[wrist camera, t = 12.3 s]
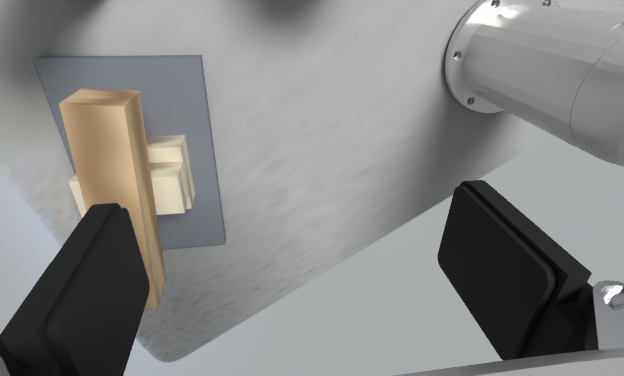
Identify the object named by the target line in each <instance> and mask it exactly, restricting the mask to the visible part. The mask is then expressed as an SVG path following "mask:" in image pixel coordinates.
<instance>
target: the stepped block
mask: <svg viewBox="0 0 624 376" xmlns="http://www.w3.org/2000/svg"><path fill="white" fill-rule="evenodd" d="M146 142H147V149H148V156H149V164H150V171H151V178H152V185H153V193H154V200H155V207H156V214H157V215H163V214H178V213H185V210H186V209H192V205H193V201H194V197H195V189H194V184H193V178H192V172H191V166H190V161H189V155H188V149H187V143H186V138H185V135H177V136H151V137H146ZM69 185H70V187H71V190H72V193H73V195H74V198H75V200H76V203H77V206H78V208H79V211H80V214H81V216H82V218H83V217H84V215H85V214H86V208H85V204H84V200H83V196H82V192H81V189H80V185H79V181H78V177H77V173H76V174H75V175H74V176H73V177H72V179H71V180H70V181H69Z"/></svg>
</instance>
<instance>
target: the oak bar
mask: <svg viewBox="0 0 624 376" xmlns="http://www.w3.org/2000/svg"><path fill="white" fill-rule="evenodd" d="M59 106H60V110H61V114H62V118H63V122H64V126H65V130H66V134H67V138H68V142H69V146H70V149H71V153H72V157H73V161H74V165H75V169H76V173H77V177H78V181H79V185H80V189H81V192H82V196H83V200H84V204H85V208H86V212H87V211H88V209H89V208H90V207H91V206H92V205H93V204H106V203H118V204H119V205H120V207H121V208H127V210H128V212H129V215H130V218H131V222H132V225H133V228H134V232H135V235H136V239H137V242H138V245H139V249H140V252H141V255H142V259H143V262H144V266H145V269H146V272H147V276H148V279H149V284H150V290H149V296H148V299H147V302H146V305H145V308H144V310H157V308H158V305H159V301H160V298H161V294H162V290H163V287H164V283H165V280H166V279H165V272H164V265H163V258H162V250H161V243H160V236H159V229H158V222H157V214H156V207H155V200H154V193H153V185H152V178H151V171H150V164H149V156H148V149H147V142H146V135H145V127H144V120H143V113H142V106H141V98H140V91H131V90H115V89H98V88H82V89H80V90H79V91H77V92H76V93H74V94H72V95H71V96H69V97H68V98H66V99H65V100H63V101H62V102H60V103H59Z"/></svg>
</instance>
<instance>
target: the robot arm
mask: <svg viewBox="0 0 624 376" xmlns="http://www.w3.org/2000/svg"><path fill="white" fill-rule="evenodd" d="M491 3H492V4H491ZM454 54H455V55H454ZM445 75H446V81H447V84H448V87H449V90H450V91H451V93H452V95H453V96H454V98H455V99H456V100H457V101H458V102H459V103H460V104H462V105H464V106H465V107H467V108H469V109H471V110H473V111H476V112H481V113H496V112H501V111H507V112H509V113H511V114H513V115H515V116H517V117H519V118H521V119H523V120H525V121H527V122H529V123H531V124H533V125H534V126H536V127H538V128H540V129H542V130H544V131H546V132H548V133H550V134H552V135H554V136H556V137H558V138H560V139H562V140H564V141H565V142H567V143H569V144H571V145H573V146H575V147H578V148H579V149H581V150H583V151H585V152H587V153H589V154H591V155H593V156H595V157H597V158H599V159H602V160H604V161H606V162H609V163H612V164H616V165H620V166H624V13H614V12H603V11H593V10H582V9H571V8H561V7H560V6H559V5H558V3H557V2H556V0H480V1H479V2H478V3H477V4H475V5H474V6H473V7H472V8H471V9H470V10H469V11H468V12H467V14H466V15H465V16H464V17H463V19H462V20H461V21H460V23H459V25H458V26H457V28H456V30H455V31H454V33H453V35H452V38H451V40H450V43H449V45H448V49H447V54H446V59H445ZM438 262H439V265H440V267H441V269H442V270H443V271H444V273H445V275H446V276H447V278H448V279H449V281H450V282H451V284H452V285H453V287H454V288H455V290H456V291H457V293H458V294H459V296H460V297H461V299H462V300H463V302H464V303H465V305H466V306H467V308H468V309H469V311H470V312H471V314H472V315H473V317H474V318H475V320H476V321H477V323H478V324H479V326H480V328H481V329H482V331H483V332H484V333H485V335H486V337H487V338H488V339H489V341H490V343H491V344H492V346H493V347H494V349H495V350H496V352H497V353H498V355H499V356H500V358H501V359H502V360H503V361H498V362H491V363H483V364H476V365H469V366H461V367H454V368H446V369H439V370H432V371H424V372H418V373H410V374H403V375H396V376H624V283H622V282H618V281H607V280H606V281H601V282H598V283H597V284H595V285H594V287H592V286H591V285H590V284H588V283H587V281H588V279H589V277H590V276H591V274H592V273H591V272H590V271H589V270H587V269H586V268H585V267H584V266H583V265H582V264H580V263H579V262H578V261H577V260H576V259H575V258H573V257H572V256H571V255H570V254H569V253H568V252H567V251H565V250H564V249H563V248H562V247H561V246H560V245H558V244H557V243H556V242H555V241H554V240H552V238H550V237H549V236H548V235H547V234H546V233H545V232H543V231H542V230H541V229H540V228H539V227H538V226H536V225H535V224H534V223H533V222H532V221H530V220H529V219H528V218H527V217H526V216H525V215H524V214H522V213H521V212H520V211H519V210H518V209H516V208H515V207H514V206H513V205H512V204H511V203H510V202H509V201H507V200H506V199H505V198H504V197H503V196H501V195H500V194H499V193H498V192H497V191H496V190H495V189H493V188H492V187H491V186H490V185H489V184H488V183H486V182H485V181H483V180H476V181H464V182H462V183H461V184H460V186H458V187H456V189H455V191H454V194H453V198H452V202H451V206H450V210H449V214H448V217H447V221H446V225H445V229H444V233H443V237H442V240H441V245H440V248H439V252H438ZM149 290H150V284H149V279H148V276H147V272H146V269H145V266H144V262H143V259H142V255H141V252H140V249H139V245H138V242H137V239H136V235H135V232H134V228H133V225H132V222H131V218H130V215H129V212H128V210H127V208H121V207H120V205H119V204H118V203H106V204H93V205H92V206H91V207H90V208H89V209H88V211H87V212H86V214H85V215H84V217H83V218H82V219H81V221H80V222H79V224H78V225H77V227H76V228H75V229H74V231H73V232H72V234H71V235H70V237H69V238H68V239H67V241H66V242H65V244H64V245H63V247H62V248H61V250H60V251H59V252H58V254H57V255H56V257H55V258H54V260H53V261H52V262H51V263H50V264H49V266H48V267H47V269H46V270H45V272H44V273H43V274H42V276H41V277H40V279H39V280H38V282H37V283H36V284H35V286H34V287H33V289H32V290H31V292H30V293H29V294H28V296H27V297H26V299H25V300H24V302H23V303H22V304H21V306H20V307H19V309H18V310H17V312H16V313H15V315H14V316H13V317H12V319H11V320H10V322H9V323H8V324H7V326H6V327H5V329H4V330H3V332H2V333H1V334H0V376H123V374H124V371H125V368H126V364H127V362H128V358H129V355H130V351H131V349H132V345H133V342H134V340H135V336H136V333H137V330H138V327H139V324H140V321H141V318H142V314H143V311H144V308H145V305H146V302H147V299H148V296H149Z"/></svg>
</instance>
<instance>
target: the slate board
mask: <svg viewBox="0 0 624 376" xmlns="http://www.w3.org/2000/svg"><path fill="white" fill-rule="evenodd" d="M33 61H34V64H35V66H36V69H37V72H38V75H39V77H40V80H41V83H42V86H43V88H44V91H45V94H46V96H47V99H48V102H49V105H50V107H51V110H52V113H53V116H54V118H55V121H56V124H57V127H58V129H59V132H60V135H61V137H62V140H63V143H64V146H65V148H66V151H67V154H68V157H69V159H70V162H71V165H72V168H73V170H74V173H75V174H76V169H75V165H74V161H73V157H72V153H71V149H70V146H69V142H68V138H67V134H66V130H65V126H64V122H63V118H62V114H61V110H60V106H59V103H60V102H62V101H63V100H65V99H66V98H68V97H69V96H71V95H72V94H74V93H76V92H77V91H79V90H80V89H82V88H98V89H115V90H131V91H140V98H141V106H142V113H143V120H144V127H145V135H146V137H151V136H177V135H185V138H186V143H187V149H188V155H189V161H190V166H191V172H192V178H193V184H194V189H195V197H194V201H193V205H192V209H186V210H185V213H178V214H163V215H157V222H158V229H159V236H160V243H161V249H172V248H185V247H197V246H210V245H222V244H225V241H226V236H225V229H224V221H223V214H222V206H221V199H220V191H219V184H218V176H217V169H216V161H215V154H214V146H213V139H212V131H211V124H210V116H209V109H208V101H207V93H206V86H205V78H204V71H203V63H202V56H201V55H187V56H59V57H38V58H35V59H33Z"/></svg>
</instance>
